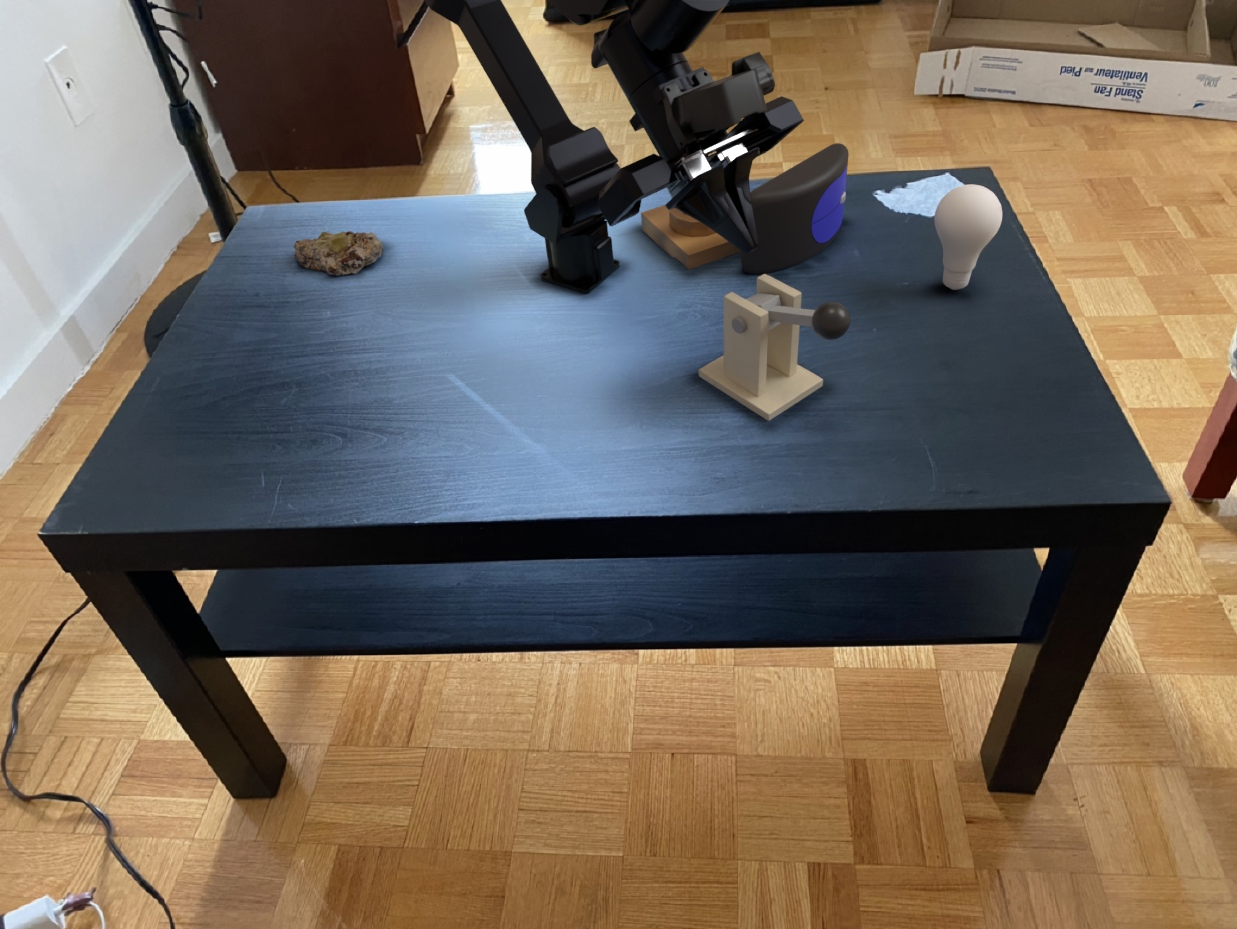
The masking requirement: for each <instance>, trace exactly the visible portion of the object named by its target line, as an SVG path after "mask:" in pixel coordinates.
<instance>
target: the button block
mask: <svg viewBox="0 0 1237 929" xmlns="http://www.w3.org/2000/svg"><path fill="white" fill-rule="evenodd" d="M665 205H666V204H663V205H661V206H657V207H654V208H652V209H649V210H645V211H642V212H640V220H641V230H642V231H643V232H644V233H645V234H646V235H648V237H649V238H650V239H651V240H653V241H654V242H655V243H656V244H657V245H658V246H659V247H660V248H661V249H662V250H663V251H665V252H666V253H667V254H668V255H669V256H670V257H671V258H672V259H673V258H675V259H676V260H677V261H678V262H680V263H681V265H683V266H684V267H685V268H686V269H687V270H691V269H695V268H698V267H700V266H704V265H706V264H710V263H712V262H715V261H718V260H722V259H724V258H728V257H730V256H733V255H737V254H738V253H741V250H740V249H739V248H737V247H736V246H734V245H733V244H731V243H730V242H729V241H727V240H726V239H724V238H723V237H722V236H720V235H719V234H717V233H716V232H715V231H713V230H712V229H710V228H709V227H707V226H706V225H704V224H703V223H701V222H699V221H697V220H696V219H694V218H692V217H691V216H689V215H686V214H684V213H683V212H682V211H680V210H678V209H676V208H673V209H671V210H668V209H667V208H666V206H665Z"/></svg>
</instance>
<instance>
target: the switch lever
mask: <svg viewBox="0 0 1237 929" xmlns="http://www.w3.org/2000/svg"><path fill="white" fill-rule="evenodd" d="M745 299H746V300H748V301H749V302H751V303H753V304H755V305H757V306H759V307H760V308H762V309H764V310H766V311H768V331H769V330H770V329H772V328H774V327H775V326H777V325H779V324H780V323H787V324H794V325H800V326H801V327H802V326H803V327H809V328H812V329H813V331H814V332H815V334H816V335H817V336H818V337H820V338H821V339H824V340H828V341H833V340H837V339H840V338H842V337H843V336H844V335H845V334H846V333H847V332H848V330H849V328H850V326H851V315H850V313H849V310H848V309H847V307H846V306H845V305H843V304H841V303H839V302H837V301H827V302H824V303H822V304H820V305H819V306H818V307H817V308H816V309H810V308H802V307H801V308H793V307H785V306H781V302H780V297H779V295H771V294H762V293H757V292H756V293H755V294H753V295H751V296H749V297H747V298H745Z"/></svg>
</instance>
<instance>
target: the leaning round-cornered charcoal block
mask: <svg viewBox="0 0 1237 929" xmlns="http://www.w3.org/2000/svg"><path fill="white" fill-rule="evenodd" d="M849 155H850V154H849V150H848V148H847V146H846V145H845V144H843V143H840V142H838V143H837V142H836V143H832V144H830V145H828V146H826V147H825V148H823V149H821V150H819V151H818V152H816V153H814V154H813V155H811V156H809V157H807V158H806V159H804V160H802V161H800V162H799V163H797V164H795V165H793V166H792V167H790V168H788V169H787V170H785V171H783V172H782V173H780V174H778V175H776V176H775V177H773V178H771V179H770V180H768V181H766V182H765V183H763V184H761V185H759V186H758V187H756V188H754V189H753V190H750V197H751V203H752V209H753V215H754V221H755V226H756V232H757V238H758V244H759V245H758V247H757V248H756V249H755V250H753V251H751V252H749V253H747V254H746V253H744V252H743V251H741V252H740V266H741V268H742V270H743V271H744V272H745V273H748V274H751V275H763V274H769V273H770V274H771V273H775V272H779V271H782V270H786V269H790V268H792V267H795V266H797V265H800V264H802V263H804V262H807V261H809V260H810V259H812V258H814V257H815V256H817V255H819V254H820V253H822V252H823V251H824V250H826V249H827V248H828V247H829V246H830V245H831V244H832V243H833V242H834V240H835V239H836V238H837V236H838V234H839V233H840V231H841V229H842V226H843V220H844V211H845V210H844V209H845V202H846V198H847V197H846V196H847V194H846V188H847V176H848V167H849V157H850V156H849Z"/></svg>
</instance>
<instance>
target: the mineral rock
mask: <svg viewBox="0 0 1237 929" xmlns="http://www.w3.org/2000/svg"><path fill="white" fill-rule="evenodd" d="M293 248H294V253H295V254H294V258H295V259H296V260H297V262H298V263H300V264H301V266H302V267H304V268H305V269H311V270H312V271H318V272H319V271H324V272H326V273H327V274H328V275H332V276H334V277H338V276H346V275H350V274H353V275H356V274H358V273H360V271H361V270H363V268H364V267H366V266H368V265H371V264H373V263H376V261H377V260H378V258H381V257H382V253H383V252H384V250H385V248H384V245H383V242H382V240H380V239H379V238H378V237H377V234H375V233H374V232H372V231H371V232H353V231H352V230H349V231H341V232H337V233H332V232H327V231H322V232H320V234H319V236H318V238H313V239H310V238H304V239H299V240H296V241H295V242H294V244H293Z"/></svg>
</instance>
